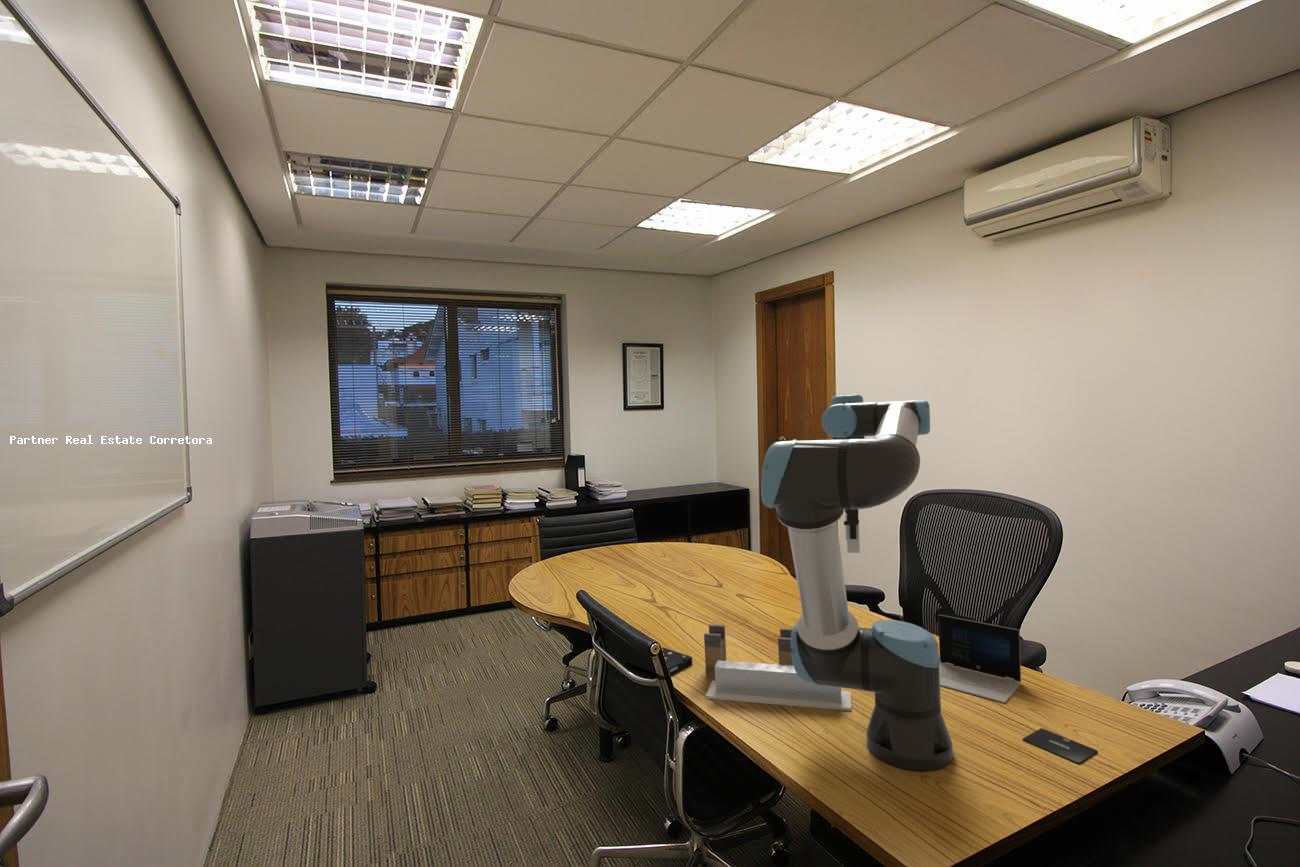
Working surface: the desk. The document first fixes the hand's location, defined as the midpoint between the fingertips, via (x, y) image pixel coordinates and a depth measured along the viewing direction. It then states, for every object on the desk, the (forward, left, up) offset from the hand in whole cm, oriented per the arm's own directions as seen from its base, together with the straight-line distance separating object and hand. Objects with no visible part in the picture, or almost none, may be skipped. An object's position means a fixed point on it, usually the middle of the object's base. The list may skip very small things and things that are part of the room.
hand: (852, 546), depth 149 cm
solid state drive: (-26, -35, -32) cm, 54 cm away
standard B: (-5, +34, -32) cm, 47 cm away
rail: (-15, +18, -31) cm, 39 cm away
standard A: (-5, +16, -32) cm, 36 cm away
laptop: (0, -25, -32) cm, 41 cm away
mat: (-15, +18, -32) cm, 39 cm away
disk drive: (-2, +50, -32) cm, 59 cm away
